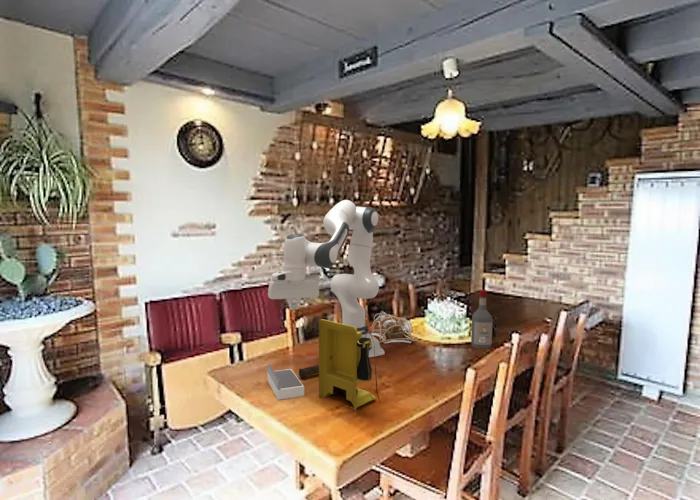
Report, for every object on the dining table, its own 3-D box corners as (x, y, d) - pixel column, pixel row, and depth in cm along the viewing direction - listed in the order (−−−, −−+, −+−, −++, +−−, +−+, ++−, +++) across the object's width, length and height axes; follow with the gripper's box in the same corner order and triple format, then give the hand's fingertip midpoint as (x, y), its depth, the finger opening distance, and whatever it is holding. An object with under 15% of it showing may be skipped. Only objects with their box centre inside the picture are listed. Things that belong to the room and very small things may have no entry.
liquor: (492, 350, 225) (494, 292, 222) (474, 350, 225) (476, 292, 223) (487, 345, 234) (489, 289, 231) (470, 344, 234) (472, 288, 232)
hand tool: (302, 380, 182) (303, 369, 181) (297, 376, 185) (298, 365, 184) (340, 371, 193) (341, 361, 192) (335, 367, 196) (336, 358, 195)
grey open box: (291, 377, 185) (291, 361, 184) (304, 396, 166) (304, 378, 166) (267, 380, 181) (267, 364, 181) (278, 400, 163) (277, 382, 162)
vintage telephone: (396, 406, 159) (398, 324, 156) (372, 419, 148) (373, 332, 146) (334, 383, 180) (334, 310, 177) (309, 393, 169) (309, 316, 167)
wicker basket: (359, 346, 236) (359, 318, 233) (383, 325, 267) (384, 299, 264) (408, 356, 224) (409, 326, 221) (428, 332, 255) (429, 306, 252)
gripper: (317, 273, 181) (316, 306, 182) (267, 274, 174) (266, 309, 174) (321, 275, 175) (320, 309, 176) (270, 276, 168) (270, 312, 169)
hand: (293, 309), depth 175 cm, fingers closed
